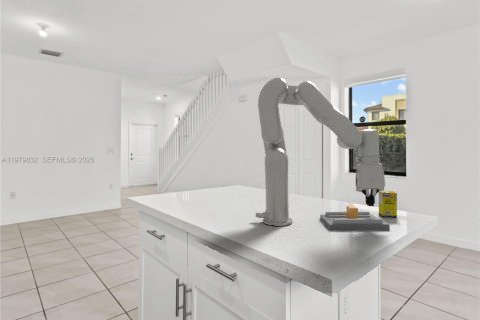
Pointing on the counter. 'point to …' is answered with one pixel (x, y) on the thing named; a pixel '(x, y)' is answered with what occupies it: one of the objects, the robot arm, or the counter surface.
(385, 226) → the breaker panel
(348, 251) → the counter surface
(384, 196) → the supplement box
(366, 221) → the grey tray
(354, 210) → the block
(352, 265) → the counter surface
